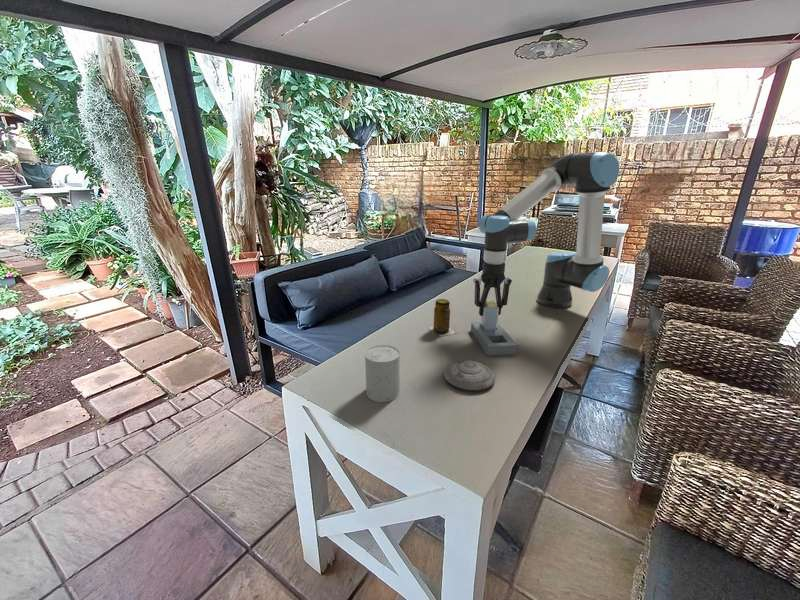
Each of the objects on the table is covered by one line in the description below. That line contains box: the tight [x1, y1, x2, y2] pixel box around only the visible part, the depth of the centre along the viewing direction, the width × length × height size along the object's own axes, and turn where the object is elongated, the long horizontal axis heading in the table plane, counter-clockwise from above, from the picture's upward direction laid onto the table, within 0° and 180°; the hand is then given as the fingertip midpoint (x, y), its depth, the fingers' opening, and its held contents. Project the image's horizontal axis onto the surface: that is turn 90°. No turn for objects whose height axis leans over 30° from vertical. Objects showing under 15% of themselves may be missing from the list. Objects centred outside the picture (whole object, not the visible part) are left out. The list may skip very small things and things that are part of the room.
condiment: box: [428, 298, 457, 337], centre depth 140 cm, size 7×8×12 cm
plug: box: [482, 300, 498, 330], centre depth 135 cm, size 4×4×12 cm
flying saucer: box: [443, 359, 496, 391], centre depth 109 cm, size 15×15×6 cm
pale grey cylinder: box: [364, 344, 401, 403], centre depth 102 cm, size 10×10×12 cm
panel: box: [470, 321, 518, 357], centre depth 132 cm, size 10×20×4 cm, turn 6°
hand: (488, 322), depth 136 cm, fingers closed on plug, 4 cm apart
